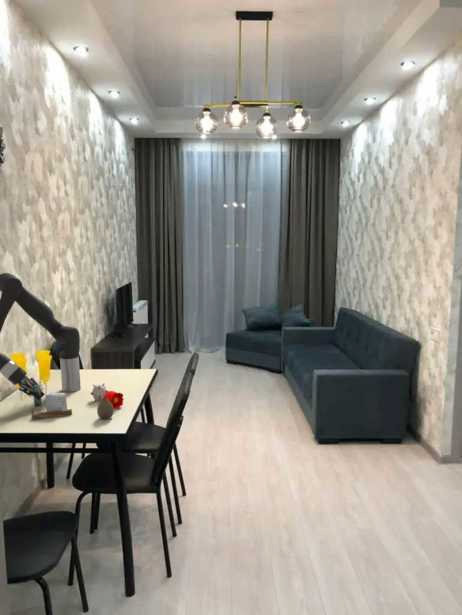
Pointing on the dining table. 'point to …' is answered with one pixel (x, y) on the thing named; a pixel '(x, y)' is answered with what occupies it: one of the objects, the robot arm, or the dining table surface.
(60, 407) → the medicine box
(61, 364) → the robot arm
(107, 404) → the grey rounded lump
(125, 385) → the dining table surface
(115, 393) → the flower
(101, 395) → the grey spiky ball
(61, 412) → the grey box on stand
